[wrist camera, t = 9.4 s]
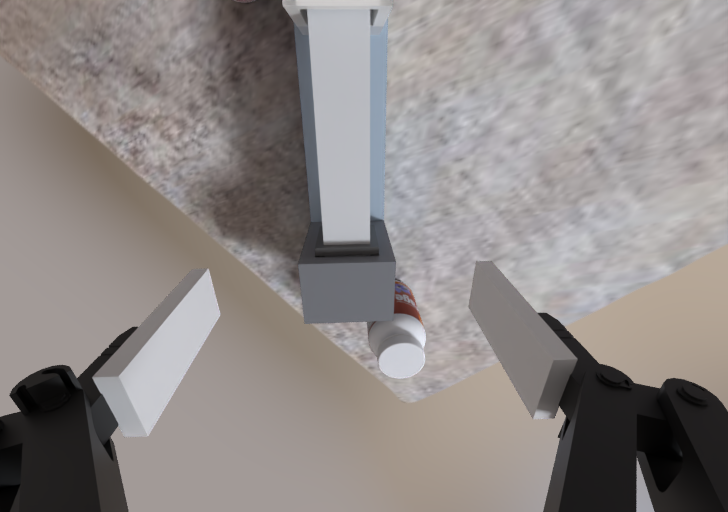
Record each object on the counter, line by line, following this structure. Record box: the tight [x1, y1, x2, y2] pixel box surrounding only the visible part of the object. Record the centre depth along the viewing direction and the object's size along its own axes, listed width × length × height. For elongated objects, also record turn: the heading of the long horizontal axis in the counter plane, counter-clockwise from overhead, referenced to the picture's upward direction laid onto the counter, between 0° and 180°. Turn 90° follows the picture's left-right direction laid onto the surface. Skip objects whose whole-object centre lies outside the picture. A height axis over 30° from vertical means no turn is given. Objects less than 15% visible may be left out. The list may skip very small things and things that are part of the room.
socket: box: [298, 220, 396, 324], centre depth 32 cm, size 6×8×10 cm
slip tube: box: [307, 9, 379, 257], centre depth 26 cm, size 24×5×5 cm, turn 0°
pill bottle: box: [367, 280, 426, 379], centre depth 36 cm, size 6×6×11 cm
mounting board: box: [294, 18, 388, 222], centre depth 31 cm, size 32×8×1 cm, turn 0°
